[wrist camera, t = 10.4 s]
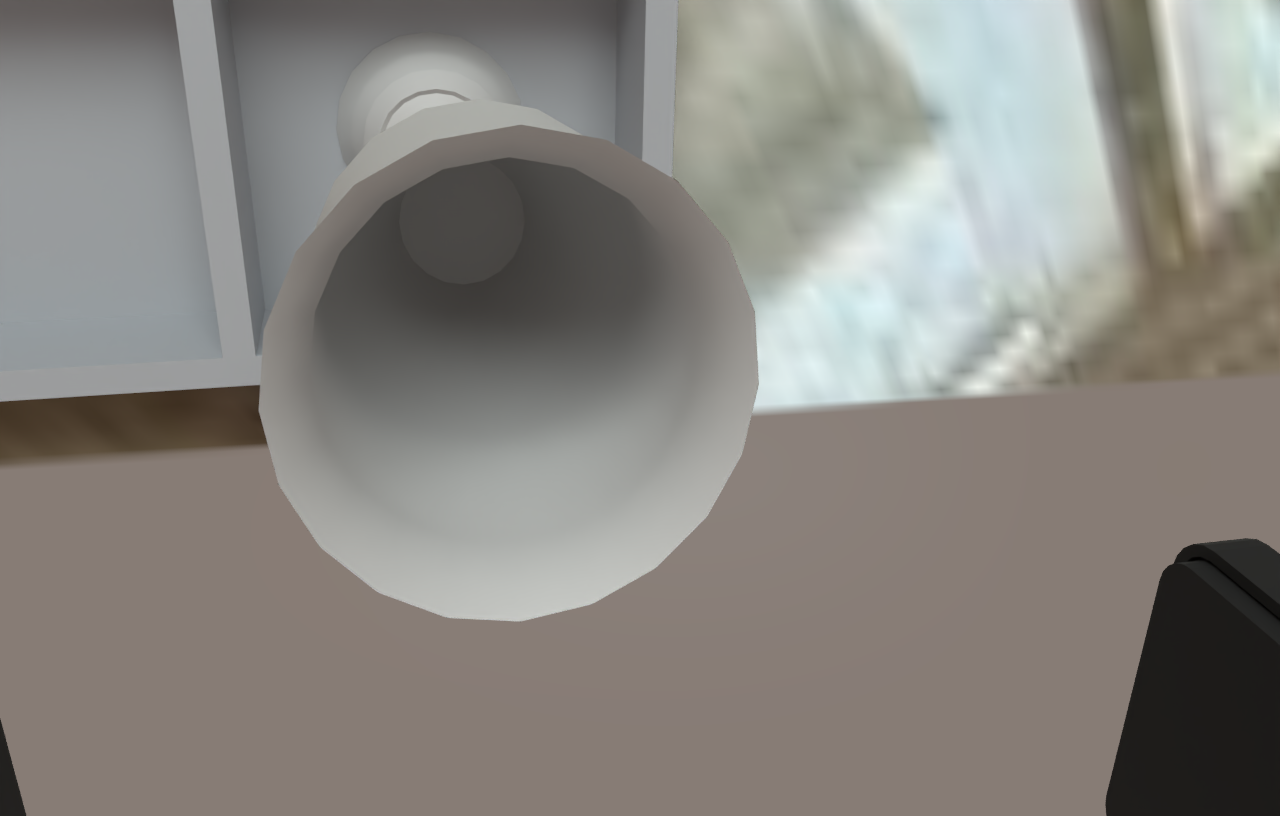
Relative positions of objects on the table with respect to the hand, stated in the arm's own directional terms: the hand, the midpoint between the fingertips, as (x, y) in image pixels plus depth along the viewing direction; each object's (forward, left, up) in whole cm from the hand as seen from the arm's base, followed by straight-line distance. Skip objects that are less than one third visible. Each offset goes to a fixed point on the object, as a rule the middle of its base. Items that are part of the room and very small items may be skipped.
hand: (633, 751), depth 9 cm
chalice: (0, 0, -25) cm, 25 cm away
